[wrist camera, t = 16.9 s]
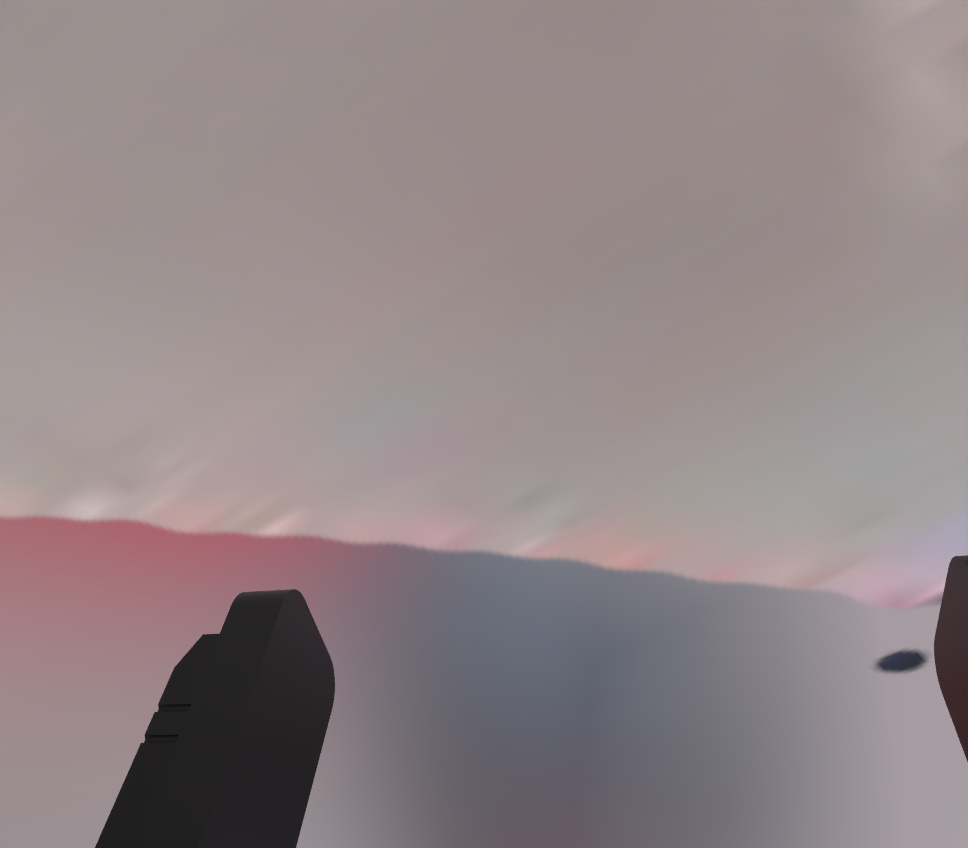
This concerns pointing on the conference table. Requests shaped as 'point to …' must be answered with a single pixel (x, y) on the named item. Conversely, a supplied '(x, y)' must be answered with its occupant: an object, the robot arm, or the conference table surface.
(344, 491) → the conference table surface
